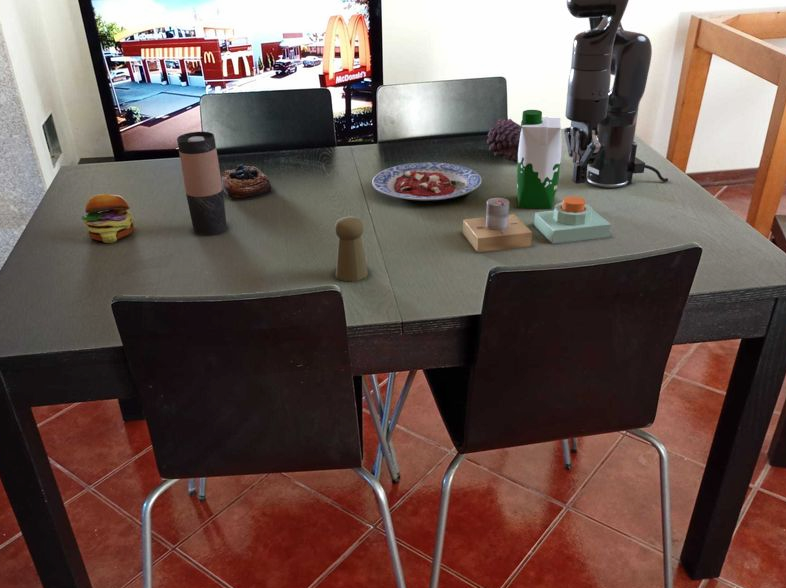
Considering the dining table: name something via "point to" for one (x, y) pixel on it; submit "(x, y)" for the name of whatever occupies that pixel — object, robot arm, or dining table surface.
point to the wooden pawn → (350, 250)
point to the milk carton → (538, 160)
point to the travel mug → (202, 182)
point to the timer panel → (496, 234)
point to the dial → (497, 213)
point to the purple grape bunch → (505, 139)
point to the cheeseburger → (108, 218)
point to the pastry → (245, 183)
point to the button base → (571, 225)
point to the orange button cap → (573, 204)
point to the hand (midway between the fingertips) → (579, 182)
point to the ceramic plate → (426, 181)
